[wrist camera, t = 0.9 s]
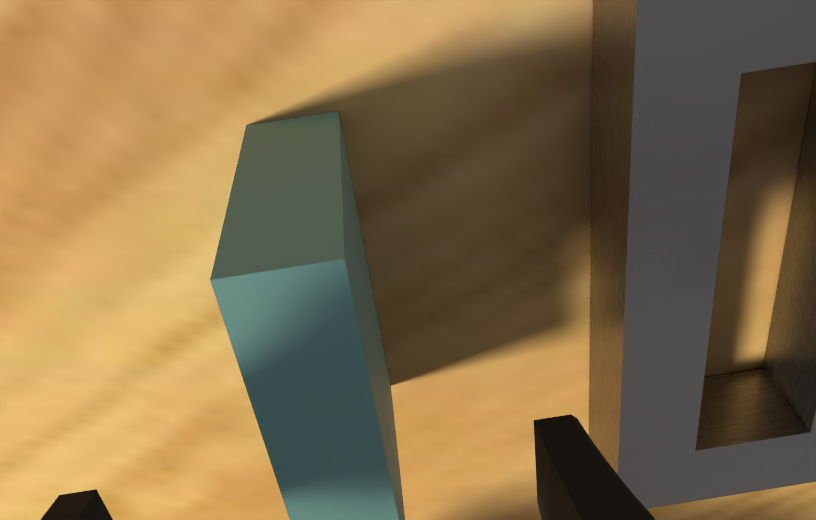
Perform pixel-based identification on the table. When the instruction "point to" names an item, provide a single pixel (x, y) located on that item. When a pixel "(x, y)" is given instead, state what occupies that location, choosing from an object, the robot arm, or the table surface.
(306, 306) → the panel
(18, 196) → the table surface
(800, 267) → the rack
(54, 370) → the table surface
